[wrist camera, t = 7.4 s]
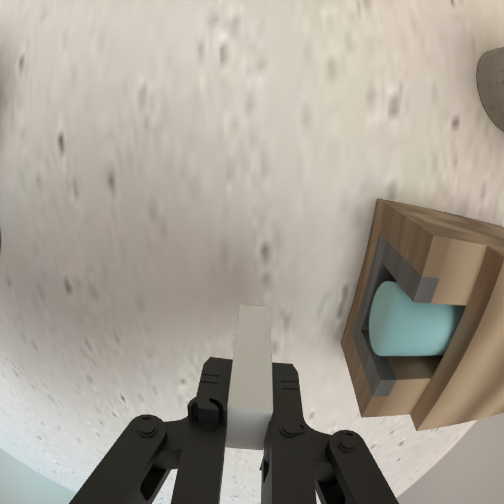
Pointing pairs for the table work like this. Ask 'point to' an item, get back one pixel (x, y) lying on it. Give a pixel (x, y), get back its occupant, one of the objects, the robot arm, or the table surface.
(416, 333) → the dowel peg
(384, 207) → the walnut socket block
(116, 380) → the table surface
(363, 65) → the table surface
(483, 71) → the thermos bottle
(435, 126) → the table surface
